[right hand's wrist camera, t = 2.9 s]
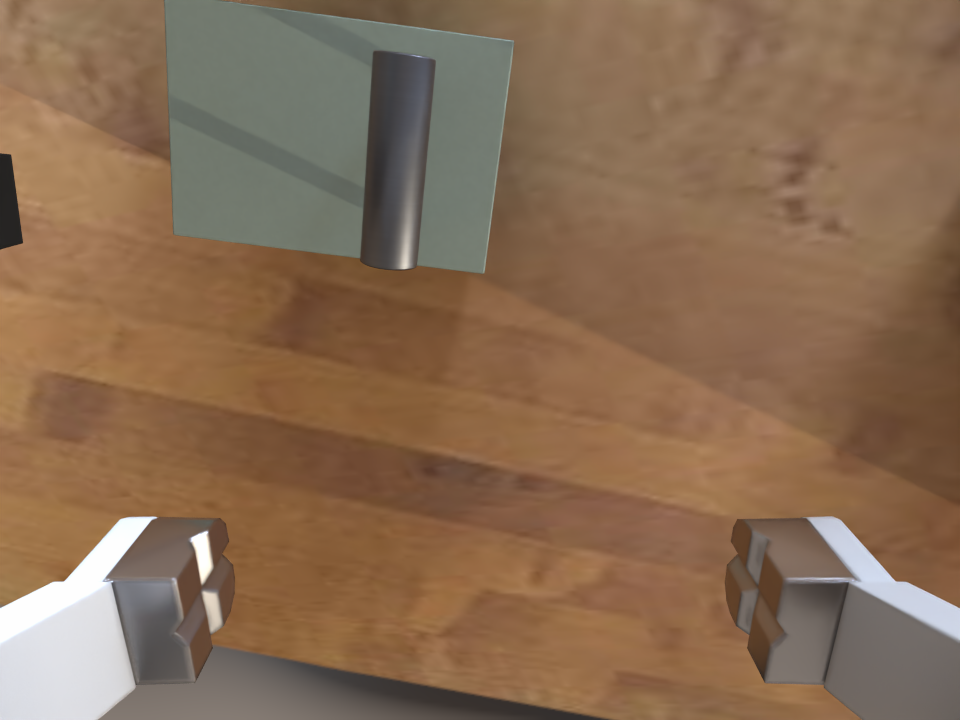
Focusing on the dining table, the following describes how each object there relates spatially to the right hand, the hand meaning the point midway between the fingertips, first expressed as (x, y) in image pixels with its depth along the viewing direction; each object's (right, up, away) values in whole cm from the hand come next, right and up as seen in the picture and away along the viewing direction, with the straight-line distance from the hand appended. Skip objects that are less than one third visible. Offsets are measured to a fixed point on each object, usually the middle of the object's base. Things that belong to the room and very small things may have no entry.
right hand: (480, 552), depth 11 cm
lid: (-6, +13, +18) cm, 23 cm away
